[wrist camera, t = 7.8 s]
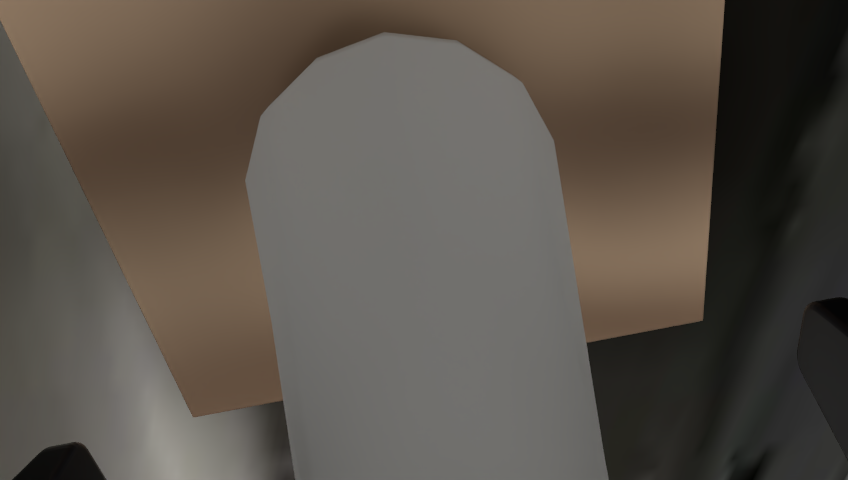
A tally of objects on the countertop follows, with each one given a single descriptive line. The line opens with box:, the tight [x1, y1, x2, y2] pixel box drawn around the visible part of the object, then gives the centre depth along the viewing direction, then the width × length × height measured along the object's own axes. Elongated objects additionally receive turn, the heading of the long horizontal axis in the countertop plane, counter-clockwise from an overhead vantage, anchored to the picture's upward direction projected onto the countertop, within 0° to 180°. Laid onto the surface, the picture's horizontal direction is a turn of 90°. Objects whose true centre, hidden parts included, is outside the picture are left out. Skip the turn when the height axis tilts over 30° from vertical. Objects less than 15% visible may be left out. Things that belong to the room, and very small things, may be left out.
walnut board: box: [0, 0, 725, 417], centre depth 16 cm, size 14×14×1 cm
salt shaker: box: [245, 32, 609, 480], centre depth 10 cm, size 6×6×13 cm
